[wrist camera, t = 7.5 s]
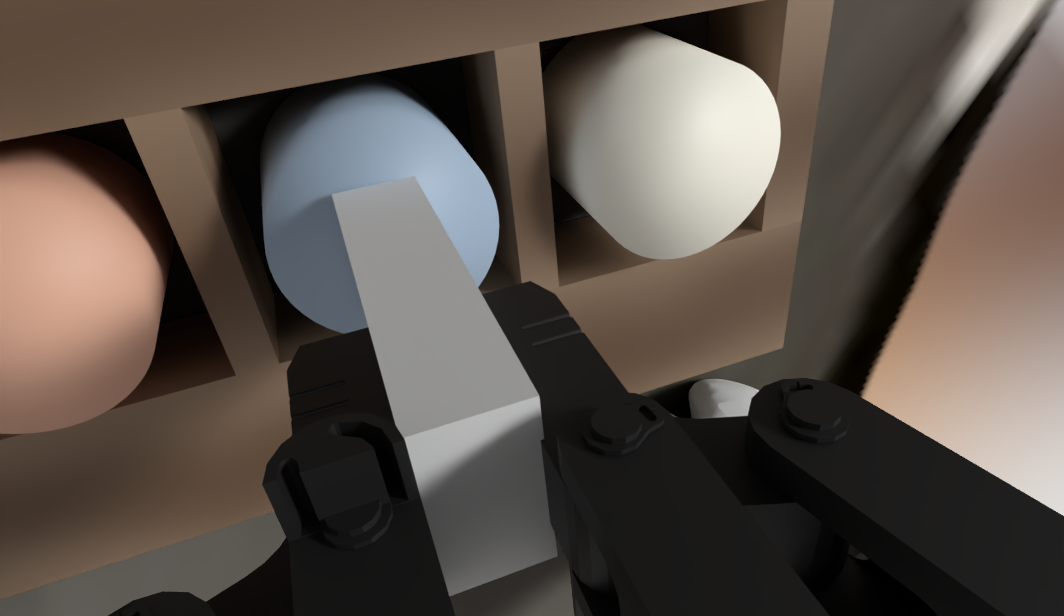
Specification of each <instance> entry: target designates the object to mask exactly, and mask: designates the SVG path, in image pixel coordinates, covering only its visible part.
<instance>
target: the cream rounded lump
mask: <svg viewBox="0 0 1064 616" xmlns="http://www.w3.org/2000/svg"><path fill="white" fill-rule="evenodd" d="M542 84H543V96H544V109H545V121H546V133H547V145H548V158H549V170H550V175H551V176H552V177H553V178H554V179H555V180H556V181H557V182H558V183H559V184H560V185H561V186H562V187H563V188H564V189H565V190H566V191H567V192H568V193H569V194H570V195H571V196H572V197H573V198H574V199H575V200H576V201H577V202H578V203H579V204H580V205H581V206H582V207H583V208H584V209H585V210H586V211H587V212H588V213H589V214H590V215H591V216H592V217H593V218H594V219H595V220H596V221H597V222H598V223H599V224H600V225H601V226H602V227H603V228H604V229H605V230H606V231H607V232H608V233H609V234H610V235H611V236H612V237H613V238H614V239H615V240H616V241H617V242H618V243H620V244H621V245H622V246H623V247H624V248H626V249H628V250H629V251H631V252H633V253H635V254H637V255H640V256H643V257H647V258H652V259H662V260H667V259H677V258H682V257H687V256H690V255H693V254H696V253H699V252H701V251H703V250H705V249H707V248H709V247H711V246H713V245H714V244H716V243H718V242H719V241H721V240H722V239H723V238H725V237H726V236H728V235H729V234H730V233H731V232H732V231H733V230H735V229H736V228H737V227H738V226H739V225H740V224H741V223H742V222H743V221H744V220H745V219H746V218H747V216H748V215H749V214H750V213H751V211H752V210H753V209H754V208H755V206H756V205H757V203H758V202H759V200H760V199H761V197H762V195H763V194H764V192H765V190H766V188H767V186H768V184H769V182H770V179H771V177H772V174H773V172H774V169H775V166H776V162H777V159H778V153H779V148H780V136H781V129H780V118H779V113H778V108H777V105H776V102H775V100H774V97H773V95H772V93H771V91H770V90H769V88H768V86H767V85H766V84H765V83H764V81H763V80H762V79H761V78H760V77H759V76H758V75H757V74H756V73H755V72H753V71H752V70H750V69H749V68H747V67H745V66H744V65H741V64H739V63H736V62H734V61H731V60H729V59H726V58H723V57H721V56H718V55H716V54H713V53H711V52H708V51H706V50H703V49H701V48H698V47H695V46H693V45H690V44H688V43H685V42H683V41H680V40H678V39H675V38H672V37H670V36H667V35H665V34H662V33H660V32H657V31H655V30H652V29H649V28H647V27H644V26H642V25H639V24H634V25H628V26H623V27H617V28H612V29H607V30H601V31H596V32H590V33H585V34H580V35H578V36H576V37H575V38H573V39H572V40H571V41H570V42H568V43H567V44H566V45H565V46H564V47H563V48H562V49H561V50H560V51H559V52H558V53H557V54H556V55H555V56H554V58H553V59H552V60H551V61H550V63H549V64H548V66H547V67H546V69H545V71H544V72H543V74H542Z"/></svg>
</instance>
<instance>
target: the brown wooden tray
mask: <svg viewBox="0 0 1064 616" xmlns="http://www.w3.org/2000/svg"><path fill="white" fill-rule="evenodd" d="M833 5H834V0H0V141H4V140H10V139H15V138H21V137H26V136H31V135H37V134H42V133H48V132H53V131H59V130H64V129H69V128H75V127H80V126H86V125H91V124H97V123H102V122H107V121H113V120H118V119H124V121H125V123H126V125H127V127H128V130H129V132H130V134H131V137H132V139H133V141H134V143H135V146H136V148H137V150H138V153H139V155H140V157H141V159H142V162H143V164H144V166H145V169H146V171H147V173H148V175H149V178H150V180H151V182H152V185H153V187H154V189H155V191H156V194H157V196H158V198H159V201H160V203H161V205H162V207H163V210H164V212H165V214H166V216H167V219H168V221H169V223H170V226H171V228H172V230H173V232H174V235H175V237H176V239H177V242H178V244H179V246H180V248H181V251H182V253H183V255H184V258H185V260H186V262H187V264H188V267H189V269H190V271H191V274H192V276H193V278H194V280H195V283H196V285H197V287H198V290H199V292H200V294H201V296H202V299H203V301H204V303H205V306H206V308H207V310H208V312H205V313H201V314H197V315H193V316H189V317H185V318H181V319H177V320H173V321H169V322H165V323H161V324H159V329H158V334H157V340H156V345H155V351H154V354H153V358H152V361H151V364H150V366H149V368H148V370H147V372H146V374H145V376H144V377H143V379H142V380H141V381H140V383H139V384H138V386H137V387H136V388H135V389H134V390H133V391H132V392H131V393H130V394H129V395H128V396H127V397H126V398H125V399H124V400H122V401H121V402H120V403H118V404H117V405H116V406H114V407H113V408H111V409H109V410H108V411H106V412H104V413H103V414H101V415H99V416H97V417H94V418H92V419H90V420H88V421H85V422H82V423H79V424H76V425H73V426H70V427H66V428H62V429H57V430H53V431H46V432H39V433H27V434H0V599H3V598H6V597H10V596H13V595H16V594H19V593H22V592H25V591H28V590H31V589H34V588H38V587H41V586H44V585H47V584H50V583H53V582H56V581H59V580H62V579H66V578H69V577H72V576H75V575H78V574H81V573H84V572H87V571H90V570H93V569H97V568H100V567H103V566H106V565H109V564H112V563H115V562H118V561H121V560H125V559H128V558H131V557H134V556H137V555H140V554H143V553H146V552H149V551H153V550H156V549H159V548H162V547H165V546H168V545H171V544H174V543H177V542H180V541H184V540H187V539H190V538H193V537H196V536H199V535H202V534H205V533H208V532H212V531H215V530H218V529H221V528H224V527H227V526H230V525H233V524H236V523H240V522H243V521H246V520H249V519H252V518H255V517H258V516H261V515H264V514H267V513H271V512H274V509H273V507H272V505H271V503H270V501H269V498H268V496H267V494H266V492H265V490H264V488H263V485H262V483H263V478H264V474H265V470H266V465H267V463H268V461H269V460H270V459H271V457H272V456H273V455H274V453H275V452H276V450H277V449H278V448H279V446H280V445H281V444H282V443H283V442H284V441H286V440H287V439H288V438H290V437H291V436H292V427H291V421H292V419H291V415H290V404H289V400H290V398H289V393H288V382H287V369H288V367H289V365H290V363H291V361H292V359H293V357H294V356H295V354H296V352H297V350H298V348H299V346H301V345H304V344H308V343H312V342H315V341H319V340H323V339H327V338H330V337H334V336H338V335H341V334H344V333H340V332H337V331H334V330H331V329H329V328H326V327H324V326H322V325H320V324H318V323H316V322H314V321H313V320H311V319H310V318H308V317H307V316H305V315H304V314H302V313H301V312H300V311H299V310H298V309H297V308H296V307H294V306H293V305H292V304H291V303H290V301H289V300H288V299H287V298H286V297H285V296H284V294H283V293H280V294H276V295H274V293H273V290H272V287H271V285H270V282H269V279H268V277H267V274H266V271H265V268H264V266H263V263H262V260H261V257H260V255H259V252H258V249H257V246H256V244H255V241H254V238H253V235H252V233H251V230H250V227H249V224H248V222H247V219H246V216H245V214H244V211H243V208H242V205H241V203H240V200H239V197H238V194H237V192H236V189H235V186H234V183H233V181H232V178H231V175H230V172H229V170H228V167H227V164H226V162H225V159H224V156H223V153H222V151H221V148H220V145H219V142H218V140H217V137H216V134H215V131H214V129H213V126H212V123H211V120H210V118H209V115H208V112H207V109H206V107H205V103H210V102H216V101H221V100H227V99H232V98H238V97H243V96H248V95H254V94H259V93H265V92H270V91H276V90H281V89H286V88H292V87H297V86H303V85H308V84H314V83H319V82H324V81H330V80H335V79H341V78H346V77H352V76H357V75H362V74H368V73H373V72H379V71H384V70H390V69H395V68H400V67H406V66H411V65H417V64H422V63H428V62H433V61H438V60H444V59H449V58H455V57H460V59H461V66H462V73H463V79H464V86H465V93H466V100H467V107H468V114H469V121H470V127H471V134H472V141H473V148H474V155H475V162H476V164H477V166H478V167H479V168H480V170H481V171H482V173H483V174H484V175H485V177H486V179H487V181H488V183H489V185H490V186H491V189H492V191H493V194H494V197H495V200H496V204H497V209H498V215H499V237H498V243H497V248H496V253H495V255H494V258H493V261H492V264H491V266H490V268H489V270H488V272H487V274H486V276H485V278H484V279H483V281H482V282H481V284H480V285H479V287H478V289H479V290H480V292H481V294H484V293H488V292H492V291H495V290H499V289H503V288H506V287H510V286H514V285H517V284H521V283H525V282H529V281H532V282H533V283H535V284H537V285H539V286H541V287H543V288H545V289H547V290H549V291H551V292H552V293H554V294H556V296H557V297H558V298H559V300H560V301H561V302H562V304H563V305H564V306H565V308H566V309H567V310H568V312H569V314H570V317H573V318H574V320H575V321H576V323H577V324H578V325H579V327H580V328H581V331H582V333H585V335H586V336H587V337H588V339H589V340H590V341H591V343H592V344H593V345H594V347H595V348H596V349H597V351H598V352H599V353H600V355H601V356H602V357H603V359H604V360H605V362H606V363H607V364H608V366H609V367H610V368H611V370H612V371H613V372H614V374H615V375H616V376H617V378H618V379H619V380H620V382H621V383H622V384H623V386H624V387H625V388H626V390H627V391H628V392H629V393H637V394H640V393H643V392H647V391H650V390H653V389H656V388H659V387H662V386H665V385H668V384H671V383H675V382H678V381H681V380H684V379H687V378H690V377H693V376H696V375H699V374H703V373H706V372H709V371H712V370H715V369H718V368H721V367H724V366H727V365H730V364H734V363H737V362H740V361H743V360H746V359H749V358H752V357H755V356H758V355H762V354H765V353H768V352H771V351H774V350H777V349H780V348H783V343H784V336H785V330H786V323H787V316H788V309H789V303H790V296H791V289H792V282H793V276H794V269H795V262H796V255H797V248H798V242H799V235H800V228H801V221H802V215H803V208H804V201H805V194H806V187H807V181H808V174H809V167H810V160H811V154H812V147H813V140H814V133H815V127H816V120H817V113H818V106H819V99H820V93H821V86H822V79H823V72H824V66H825V59H826V52H827V45H828V38H829V32H830V25H831V18H832V11H833ZM704 11H709V23H708V42H707V51H708V52H711V53H713V54H716V55H718V56H721V57H723V58H726V59H729V60H731V61H734V62H736V63H739V64H741V65H744V66H745V67H747V68H749V69H750V70H752V71H753V72H755V73H756V74H757V75H758V76H759V77H760V78H761V79H762V80H763V81H764V83H765V84H766V85H767V86H768V88H769V90H770V91H771V93H772V95H773V97H774V100H775V102H776V105H777V108H778V113H779V118H780V129H781V136H780V148H779V153H778V159H777V162H776V166H775V169H774V172H773V174H772V177H771V179H770V182H769V184H768V186H767V188H766V190H765V192H764V194H763V195H762V197H761V199H760V200H759V202H758V203H757V205H756V206H755V208H754V209H753V210H752V211H751V213H750V214H749V215H748V216H747V218H746V219H745V220H744V221H743V222H742V223H741V224H740V225H739V226H738V227H737V228H736V229H735V230H733V231H732V232H731V233H730V234H729V235H728V236H726V237H725V238H723V239H722V240H721V241H719V242H718V243H716V244H714V245H713V246H711V247H709V248H707V249H705V250H703V251H701V252H699V253H696V254H693V255H690V256H687V257H682V258H677V259H667V260H662V259H652V258H647V257H643V256H640V255H637V254H635V253H633V252H631V251H629V250H628V249H626V248H624V247H623V246H622V245H621V244H620V243H618V242H617V241H616V240H615V239H614V238H613V237H612V236H611V235H610V234H609V233H608V232H607V231H606V230H605V229H604V228H603V227H602V226H601V225H600V224H599V223H598V222H597V221H596V220H595V219H594V218H593V217H592V216H587V217H583V218H579V219H575V220H571V221H567V222H563V223H559V224H555V225H554V219H553V207H552V194H551V182H550V170H549V158H548V145H547V133H546V121H545V109H544V96H543V84H542V72H541V60H540V47H539V42H541V41H547V40H552V39H558V38H563V37H569V36H574V35H579V34H585V33H590V32H596V31H601V30H607V29H612V28H617V27H623V26H628V25H634V24H639V23H645V22H650V21H655V20H661V19H666V18H672V17H677V16H683V15H688V14H693V13H699V12H704Z"/></svg>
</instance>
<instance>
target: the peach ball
mask: <svg viewBox="0 0 1064 616" xmlns="http://www.w3.org/2000/svg"><path fill="white" fill-rule="evenodd" d="M172 251H173V230H172V228H171V226H170V223H169V221H168V219H167V216H166V214H165V212H164V210H163V207H162V205H161V203H160V201H159V198H158V196H157V194H156V191H155V189H154V187H153V185H152V184H151V183H150V182H149V181H148V180H147V179H146V178H145V177H144V176H143V175H142V174H141V173H140V172H139V171H138V170H137V169H136V168H134V167H133V166H132V165H131V164H129V163H128V162H127V161H125V160H124V159H122V158H121V157H119V156H118V155H116V154H114V153H112V152H111V151H109V150H107V149H105V148H103V147H101V146H98V145H96V144H94V143H91V142H89V141H86V140H83V139H80V138H76V137H73V136H69V135H64V134H59V133H53V132H48V133H42V134H37V135H31V136H26V137H21V138H15V139H10V140H4V141H0V434H27V433H39V432H46V431H53V430H57V429H62V428H66V427H70V426H73V425H76V424H79V423H82V422H85V421H88V420H90V419H92V418H94V417H97V416H99V415H101V414H103V413H104V412H106V411H108V410H109V409H111V408H113V407H114V406H116V405H117V404H118V403H120V402H121V401H122V400H124V399H125V398H126V397H127V396H128V395H129V394H130V393H131V392H132V391H133V390H134V389H135V388H136V387H137V386H138V384H139V383H140V381H141V380H142V379H143V377H144V376H145V374H146V372H147V370H148V368H149V366H150V364H151V361H152V358H153V354H154V351H155V345H156V340H157V334H158V329H159V323H160V318H161V312H162V307H163V301H164V296H165V290H166V285H167V279H168V274H169V268H170V263H171V258H172Z"/></svg>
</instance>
